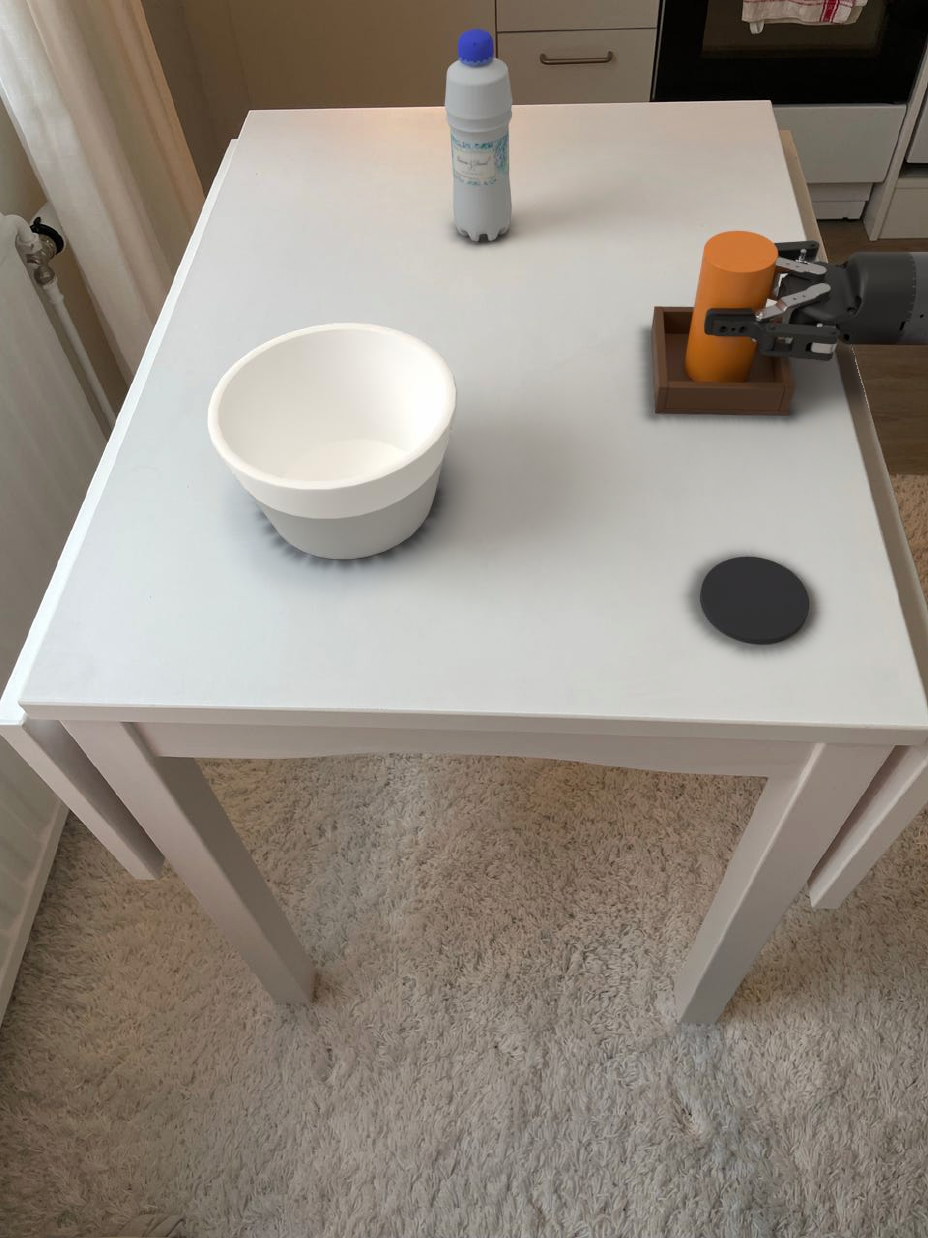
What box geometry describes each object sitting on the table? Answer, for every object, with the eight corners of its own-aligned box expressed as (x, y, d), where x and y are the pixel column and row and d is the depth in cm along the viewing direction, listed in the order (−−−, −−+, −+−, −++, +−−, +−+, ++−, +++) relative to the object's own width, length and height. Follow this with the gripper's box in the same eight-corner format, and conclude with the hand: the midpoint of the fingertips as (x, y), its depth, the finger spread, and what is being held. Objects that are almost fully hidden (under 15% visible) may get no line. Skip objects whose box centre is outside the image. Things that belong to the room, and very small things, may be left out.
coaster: (817, 579, 74) (819, 574, 73) (793, 658, 70) (795, 653, 69) (716, 549, 76) (717, 544, 76) (686, 624, 72) (687, 619, 71)
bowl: (298, 403, 89) (274, 304, 80) (494, 444, 84) (490, 343, 76) (198, 553, 78) (159, 458, 70) (416, 609, 74) (402, 514, 65)
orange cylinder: (757, 355, 89) (786, 238, 79) (740, 395, 86) (767, 278, 76) (694, 341, 91) (715, 224, 81) (675, 379, 88) (694, 263, 78)
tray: (773, 333, 92) (779, 306, 89) (787, 415, 85) (794, 388, 82) (650, 332, 93) (654, 305, 90) (655, 412, 86) (659, 386, 83)
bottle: (443, 241, 104) (428, 42, 88) (466, 208, 107) (456, 12, 91) (501, 252, 102) (496, 51, 86) (522, 218, 106) (522, 20, 89)
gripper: (901, 211, 82) (703, 211, 84) (936, 313, 74) (715, 311, 75) (875, 287, 88) (691, 285, 90) (904, 389, 80) (701, 386, 81)
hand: (703, 297), depth 83 cm, fingers open, 6 cm apart
